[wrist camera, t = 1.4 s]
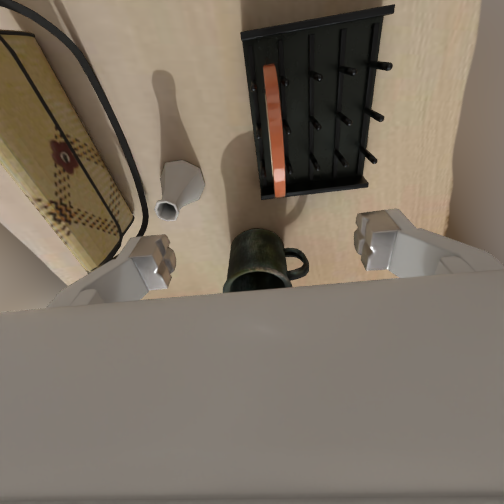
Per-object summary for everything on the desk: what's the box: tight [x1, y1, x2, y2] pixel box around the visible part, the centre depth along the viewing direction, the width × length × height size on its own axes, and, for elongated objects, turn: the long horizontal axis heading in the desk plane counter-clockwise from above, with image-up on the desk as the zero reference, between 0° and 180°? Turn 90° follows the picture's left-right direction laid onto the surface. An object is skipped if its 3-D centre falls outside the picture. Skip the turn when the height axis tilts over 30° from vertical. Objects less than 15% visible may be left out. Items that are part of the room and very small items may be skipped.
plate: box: [263, 63, 286, 198], centre depth 30 cm, size 14×1×14 cm, turn 8°
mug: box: [223, 229, 309, 293], centre depth 46 cm, size 11×15×12 cm
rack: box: [240, 5, 395, 200], centre depth 34 cm, size 20×16×7 cm
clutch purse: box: [0, 0, 149, 274], centre depth 33 cm, size 30×7×15 cm, turn 11°
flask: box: [154, 160, 205, 221], centre depth 39 cm, size 7×7×10 cm
